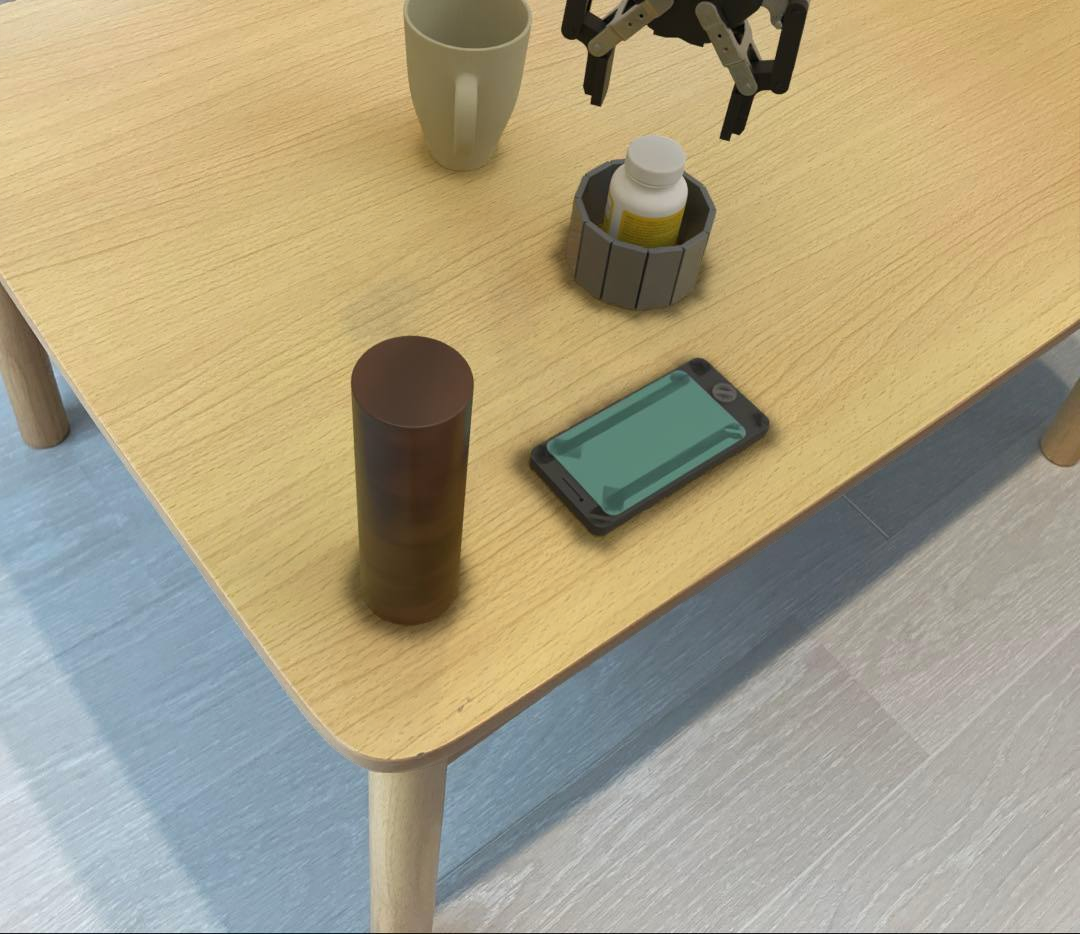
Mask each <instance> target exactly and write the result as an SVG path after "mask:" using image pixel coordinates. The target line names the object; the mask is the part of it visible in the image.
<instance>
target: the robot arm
mask: <svg viewBox="0 0 1080 934" xmlns="http://www.w3.org/2000/svg"><path fill="white" fill-rule="evenodd" d="M811 1H812V0H621V1H620V2H619V4H618V5H616V6H615V7H614V8H612V10H610V11H609V12H608V13H606V14H605V15H604V16H603V17H602V18H601V17H599V16H598V15H596V14H594V13H593V12H592V11H591V9H592V5H593V0H566V1H565V8H564V12H563V17H562V21H561V22H562V23H561V27H560V32H561V35H562V37H564V39H566V40H568V41H575V40H576V41H579V42H580V43H582V44H583V45H584V47H585V48H586V51H587V55H586V62H585V68H584V69H585V70H584V76H583V82H582V89H583V93H584V95H586V96H590V101H589V102H590V103H589V105H591V106H595V107H597V108H602V106H603V104H604V102H605V98H606V97H607V94H608V91H609V87H610V81H611V75H612V70H613V63H614V59H615V58H614V57H615V52H616V47H617V45H618V44H620V43H621V42H626V41H628V40H629V39H631V37H633V36H634V35H636V34H637V33H638V32H639V31H641V30H642V29H643V28H644V27H645V26H647V27H648V28H649V29H650V30H652V31H653V33H652V35H653V36H657V37H661V38H664V39H680V40H682V41H684V42H686V43H687V44H689V45H692V46H695V47H700V48H704V46H705V45H709V44H712V47H713V48H714V51H715V53H716V55H717V57H718V59H719V62H720V63H721V65H722V66H723V68H727V70H728V72H729V74H730V76H731V78H732V80H733V82H734V84H733V87H732V89H731V93H730V97H729V101H728V106H727V109H726V113H725V115H724V120H723V123H722V126H721V130H720V134H719V137H718V140H721V141H725V142H731V138H732V135H736V136H741V134H742V133H743V132H744V131H745V130H746V126H747V123H748V119H749V116H750V113H751V109H752V105H753V102H754V99H755V97H756V95H758V93H760V92H763V91H764V92H765V91H770V92H771V93H772V94H775V95H784V94H786V93H787V92H788V91H789V89H790V85H791V82H792V77H793V73H794V70H795V66H796V63H797V58H798V56H799V55H798V54H799V50H800V46H801V41H802V38H803V33H804V30H805V26H806V21H807V18H808V13H809V9H810V5H811ZM761 7H762V8H765V9H766V10H767V11H768V12H769V20H770V23H771V25H772V27H774V28H775V29H776V30H781V31H780V34H779V38H778V42H777V43H778V44H777V47H776V51H775V56H774V59H763V58H762V56H761V54H760V52H759V49H758V47H757V45H756V43H755V40H754V38H753V31H752V28H751V25H750V23H749V20H748V19H749V18H750V17H751V16H753V15H754V14H755V13H756V12H758V11H759V10H760V8H761Z"/></svg>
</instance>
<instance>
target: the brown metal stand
mask: <svg viewBox="0 0 1080 934" xmlns="http://www.w3.org/2000/svg"><path fill="white" fill-rule="evenodd" d="M474 390H475V380H474V374H473V371H472V369H471V366H470V364H469V363H468V360H466V359H465V357H464V356H463V355H462V354H461V353H460V352H459V351H457V349H455V348H454V347H453V346H451V345H449V344H448V343H446V342H443V341H441V340H438V339H436V338H432V337H429V336H422V335H400V336H394V337H391V338H386V339H385V340H381V341H379V342H377V343H376V344H374V345H372V346H371V347H369V348H368V349H367V350H365V352H363V353H362V354H361V355H360V357H359V358H358V360H357V361H356V363H355V364H354V367H353V369H352V372H351V376H350V395H351V415H352V416H351V417H352V433H353V435H352V437H353V453H354V474H355V493H356V495H355V496H356V497H355V498H356V514H357V515H356V516H357V517H356V518H357V534H358V536H357V537H358V554H359V555H358V556H359V574H360V575H359V576H360V588H361V590H360V591H361V593H362V597H363V599H364V601H365V603H366V605H367V606H368V607H369V608H370V609H371V611H372V612H374V614H376V615H377V616H379V617H380V618H381V619H384V620H385V621H388V622H390V623H393V624H397V625H404V626H416V625H421V624H425V623H428V622H431V621H433V620H436V619H437V618H439V617H440V616H442V615H443V614H444V613H445V612H446V611H447V610H448V609H449V608H450V607H451V605H452V604H453V602H454V601H455V598H456V596H457V594H458V591H459V579H460V569H461V568H460V567H461V555H462V541H463V529H464V518H465V506H466V505H465V504H466V491H467V478H468V468H469V467H468V466H469V453H470V442H471V427H472V414H473V403H474V402H473V401H474Z"/></svg>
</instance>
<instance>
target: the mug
mask: <svg viewBox="0 0 1080 934" xmlns="http://www.w3.org/2000/svg"><path fill="white" fill-rule="evenodd" d="M402 8H403V9H402V15H403V17H402V18H403V27H404V28H403V29H404V43H405V44H404V45H405V57H406V70H407V71H406V72H407V79H408V80H407V81H408V87H409V92H410V98H411V100H412V101H411V102H412V105H413V108H414V111H415V114H416V118H417V120H418V123H419V126H420V129H421V131H422V134H423V137H424V139H425V142H426V146H427V149H428V151H429V154H430V156H431V158H432V159H433V160H434V162H436V163H437V164H438V165H440V166H441V167H443V168H446V169H448V170H450V171H451V170H452V171H456V172H457V171H458V172H468V171H469V172H470V171H475V170H478V169H481V168H483V167H484V166H485V165H487V164H488V163H489V162H490V160H491V158H492V156H493V154H494V153H495V151H496V148H497V146H498V145H499V142H500V140H501V137H502V135H503V134H504V131H505V130H506V127H507V125H508V123H509V121H510V119H511V117H512V115H513V112H514V110H515V107H516V104H517V102H518V98H519V94H520V91H521V85H522V81H523V76H524V71H525V64H526V59H527V54H528V47H529V42H530V35H531V30H532V24H533V13H532V9H531V7H530V5H529V3H528V2H527V1H526V0H404V3H403V7H402Z"/></svg>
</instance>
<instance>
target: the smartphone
mask: <svg viewBox="0 0 1080 934" xmlns="http://www.w3.org/2000/svg"><path fill="white" fill-rule="evenodd" d="M770 423H771V421H770V419H769V418H768V416H766V415H765V413H764V412H762V411H761V410H760V409H759V408H758V407H757V406H756V405H755V404H754V403H753V402H752V401H751V400H750V399H748V398H747V397H746V395H744V394H743V393H742V392H741V391H740V390H739V389H738V388H736V386H735V385H734V384H732V383H731V382H730V381H729V380H728V379H727V377H725V376H724V375H723V374H722V373H721V372H720V371H718V369H716V368H715V367H714V365H712V364H711V363H710V361H708V360H707V359H705V358H702V357H694V358H692V359H690V360H689V361H686V362H685V363H683V364H681V365H679V366H678V367H676V368H674V369H672V370H671V371H669V372H667V373H665V374H664V375H662V376H660V377H658V378H655V379H654V380H653V381H651V382H649V383H647V384H645V385H644V386H641V387H640V388H638V389H636V390H634V391H632V392H631V393H629V394H627V395H625V396H624V397H622V398H620V399H618V400H616V401H614V402H612V403H610V404H608V405H607V406H605V407H603V408H601V409H599V410H598V411H596V412H594V413H592V415H590V416H587V417H585V418H582V420H579V421H578V422H576V423H574V424H572V425H571V426H569V427H567V428H566V429H563V430H562V431H560V432H558V433H557V434H555V435H553V436H550V437H549V438H548V439H546V440H545V441H542V442H541V443H539V444H536V445H535V446H534V447H532V449H530V456H529V461H528V465H529V468H530V469H531V470H532V471H533V472H534V473H535V474H536V476H538V478H539V479H541V481H542V482H543V483H544V484H545V486H547V488H548V489H549V490H550V491H551V492H552V493H553V494H554V495H555V496H556V498H558V500H559V501H560V502H561V503H562V504H563V505H564V506H565V507H566V509H568V511H569V512H571V513H572V515H573V516H574V517H575V518H576V519H577V520H578V522H580V523H581V525H582V526H583V527H584V528H585V529H586V530H587V531H588V532H589V534H591V535H593V536H594V537H604V536H606V535H608V534H609V533H611V532H613V531H614V530H615V529H617V528H619V527H620V526H622V525H623V524H626V523H627V522H628V521H630V520H632V519H633V518H635V517H637V516H638V515H640V514H641V513H643V512H644V511H646V510H648V509H650V508H651V507H653V506H655V505H656V504H658V503H659V502H661V501H663V500H664V499H666V498H667V497H669V496H670V495H672V494H674V493H676V492H677V491H679V490H680V489H682V488H684V487H685V486H686V485H688V484H690V483H692V482H693V481H695V480H697V479H698V478H700V477H702V476H703V475H704V474H706V473H708V472H709V471H711V470H713V469H714V468H716V467H717V466H719V465H721V464H722V463H724V462H726V461H727V460H729V459H731V458H732V457H733V456H736V455H737V454H739V453H740V452H742V451H744V450H745V449H746V448H748V447H750V446H751V445H753V444H755V443H756V442H758V441H759V440H761V439H763V438H764V437H766V435H767V432H768V431H769V427H770Z"/></svg>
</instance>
